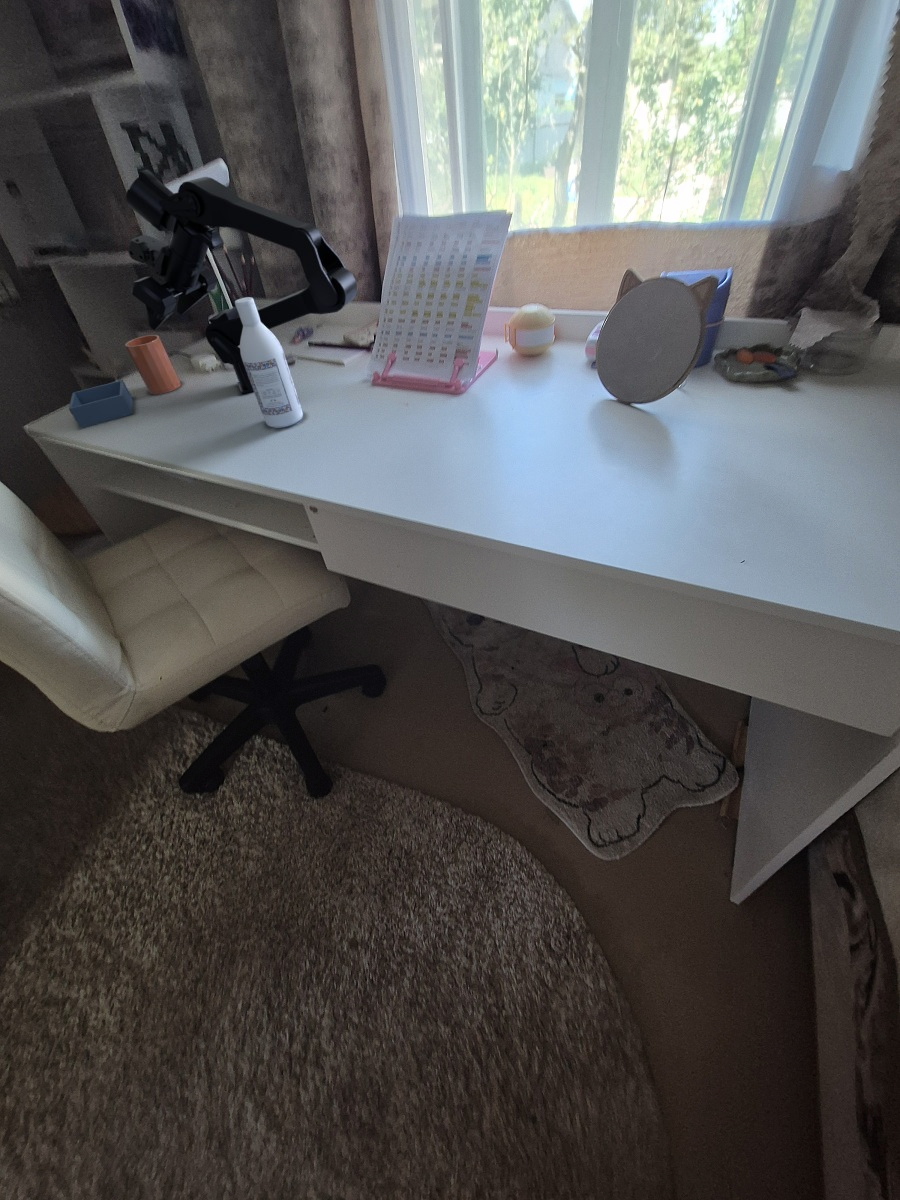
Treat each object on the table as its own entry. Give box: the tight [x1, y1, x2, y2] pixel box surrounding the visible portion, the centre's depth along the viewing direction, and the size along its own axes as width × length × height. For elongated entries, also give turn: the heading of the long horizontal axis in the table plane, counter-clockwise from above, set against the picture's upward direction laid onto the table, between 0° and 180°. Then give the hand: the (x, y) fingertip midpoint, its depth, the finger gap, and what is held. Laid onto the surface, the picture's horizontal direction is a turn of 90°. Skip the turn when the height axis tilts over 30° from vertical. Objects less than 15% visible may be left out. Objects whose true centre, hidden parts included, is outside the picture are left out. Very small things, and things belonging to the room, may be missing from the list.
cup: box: [124, 334, 182, 395], centre depth 113 cm, size 7×7×10 cm
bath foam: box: [234, 296, 304, 429], centre depth 90 cm, size 7×7×20 cm
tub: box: [68, 379, 134, 429], centre depth 108 cm, size 10×10×4 cm
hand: (166, 320), depth 105 cm, fingers open, 9 cm apart
